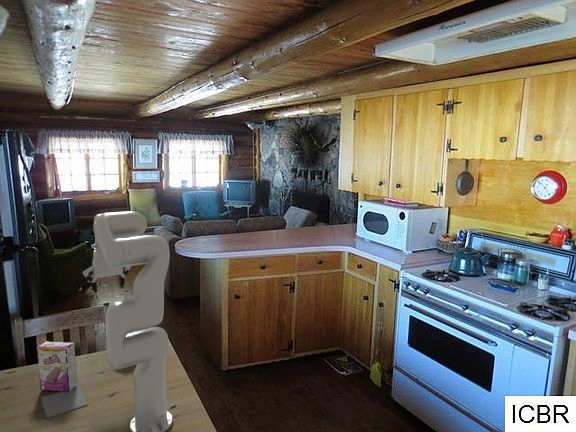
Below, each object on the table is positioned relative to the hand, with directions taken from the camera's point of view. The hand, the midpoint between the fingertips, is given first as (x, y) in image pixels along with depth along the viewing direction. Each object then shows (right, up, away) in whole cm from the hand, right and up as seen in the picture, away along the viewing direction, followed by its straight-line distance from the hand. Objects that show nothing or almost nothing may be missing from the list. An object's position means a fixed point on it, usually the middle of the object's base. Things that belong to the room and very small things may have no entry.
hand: (108, 289), depth 161 cm
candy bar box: (-12, -33, -12) cm, 38 cm away
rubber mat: (-7, -35, -20) cm, 40 cm away
